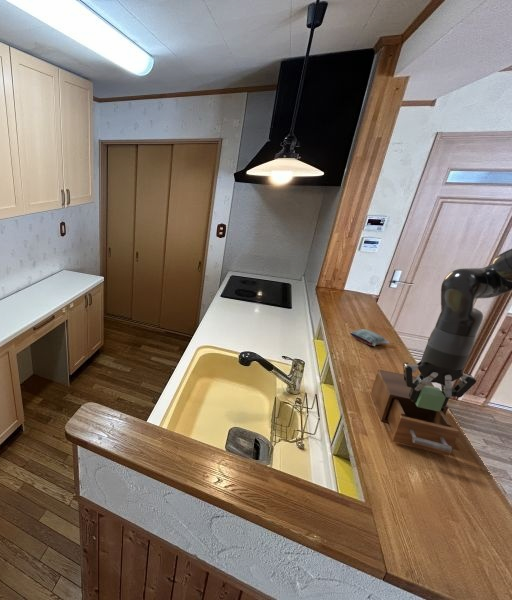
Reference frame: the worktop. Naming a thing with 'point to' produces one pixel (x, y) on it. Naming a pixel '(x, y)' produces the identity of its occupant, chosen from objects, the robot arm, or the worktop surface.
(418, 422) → the drawer
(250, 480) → the worktop surface
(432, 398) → the block
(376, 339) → the packaged food
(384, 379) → the cabinet
